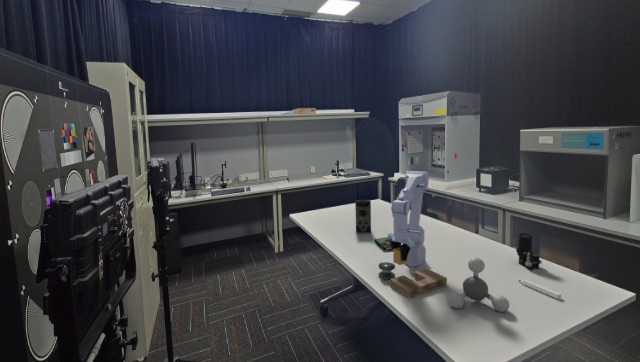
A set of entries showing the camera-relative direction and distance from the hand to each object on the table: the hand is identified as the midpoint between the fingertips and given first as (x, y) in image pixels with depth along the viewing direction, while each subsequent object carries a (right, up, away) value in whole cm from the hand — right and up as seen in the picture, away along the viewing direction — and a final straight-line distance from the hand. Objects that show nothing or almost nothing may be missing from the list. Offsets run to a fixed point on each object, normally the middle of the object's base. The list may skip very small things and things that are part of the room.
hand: (400, 258), depth 141 cm
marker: (+50, -9, -14) cm, 52 cm away
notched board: (+6, -9, -7) cm, 13 cm away
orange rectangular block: (0, -2, 0) cm, 2 cm away
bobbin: (-5, -8, +3) cm, 10 cm away
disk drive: (+3, -3, +40) cm, 40 cm away
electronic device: (-7, +1, +65) cm, 65 cm away
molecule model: (+24, -12, -22) cm, 35 cm away
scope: (+59, -5, +9) cm, 60 cm away
